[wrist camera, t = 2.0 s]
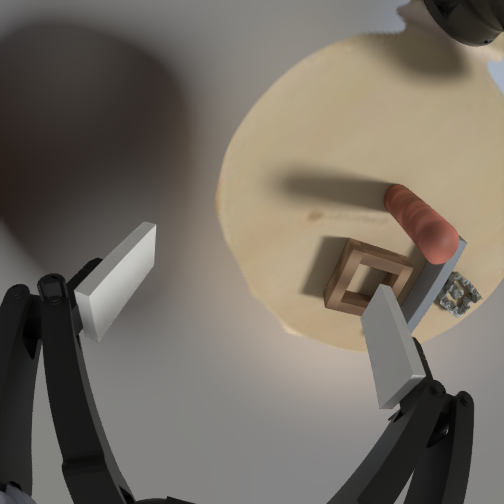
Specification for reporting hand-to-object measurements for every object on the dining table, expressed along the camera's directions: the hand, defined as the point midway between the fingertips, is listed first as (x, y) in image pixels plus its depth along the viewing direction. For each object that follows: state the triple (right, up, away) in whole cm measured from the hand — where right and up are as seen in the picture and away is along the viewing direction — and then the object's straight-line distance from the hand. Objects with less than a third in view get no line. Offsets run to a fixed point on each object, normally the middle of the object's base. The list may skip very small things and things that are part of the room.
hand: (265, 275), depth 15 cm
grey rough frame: (+42, -7, +31) cm, 53 cm away
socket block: (+19, -3, +32) cm, 38 cm away
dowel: (+23, +10, +25) cm, 35 cm away
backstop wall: (+32, -5, +32) cm, 45 cm away
